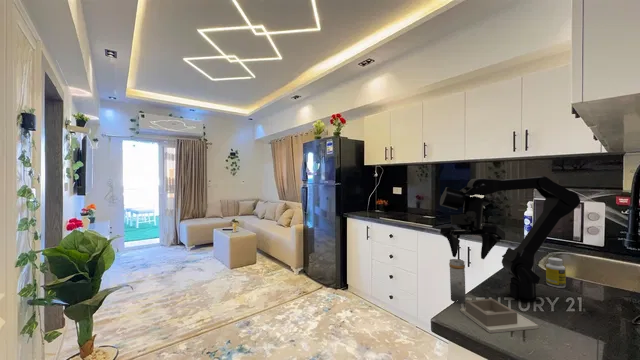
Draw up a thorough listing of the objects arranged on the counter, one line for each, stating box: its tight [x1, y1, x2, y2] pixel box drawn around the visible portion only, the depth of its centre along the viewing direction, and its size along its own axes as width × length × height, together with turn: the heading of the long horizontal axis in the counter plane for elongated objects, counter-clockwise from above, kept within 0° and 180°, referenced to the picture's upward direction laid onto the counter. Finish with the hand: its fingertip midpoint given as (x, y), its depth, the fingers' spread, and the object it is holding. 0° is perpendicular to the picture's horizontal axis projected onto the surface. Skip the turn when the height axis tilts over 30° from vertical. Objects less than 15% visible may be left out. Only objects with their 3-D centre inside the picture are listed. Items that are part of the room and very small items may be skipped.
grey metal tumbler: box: [448, 258, 467, 304], centre depth 88 cm, size 5×5×13 cm
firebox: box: [459, 298, 539, 334], centre depth 76 cm, size 14×12×4 cm
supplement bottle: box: [545, 257, 567, 289], centre depth 98 cm, size 5×5×10 cm
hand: (467, 257), depth 85 cm, fingers open, 9 cm apart
